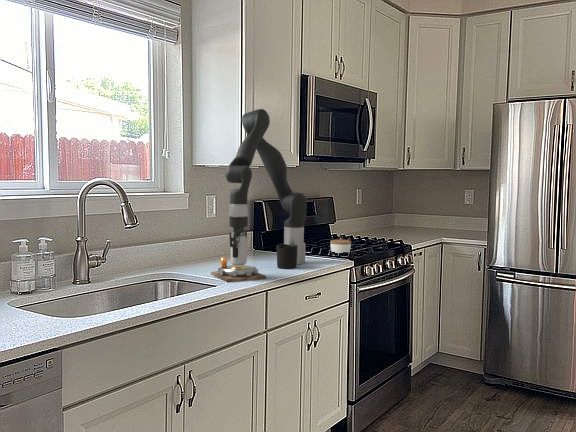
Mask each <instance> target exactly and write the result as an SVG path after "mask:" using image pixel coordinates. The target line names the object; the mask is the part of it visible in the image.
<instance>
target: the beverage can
mask: <svg viewBox="0 0 576 432" xmlns="http://www.w3.org/2000/svg"><path fill="white" fill-rule="evenodd" d="M245 236H246V235H242V236H238V238H236V239H237V240H239V237H240V242H239V243H238V257H237V258H234V257H233V248H232V247H230V263H231V264H232V265H237V266H240V265H246V264H247V243H246V237H245Z"/></svg>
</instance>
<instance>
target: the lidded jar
mask: <svg viewBox="0 0 576 432" xmlns="http://www.w3.org/2000/svg"><path fill="white" fill-rule="evenodd" d="M329 246H330V251H331V253H332V252H335V253H343V252H349V253H350V251H351V249H352V248H351V247H352V240H348V239H343V237H339V239H332V240H330V245H329Z"/></svg>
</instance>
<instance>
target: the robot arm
mask: <svg viewBox="0 0 576 432" xmlns="http://www.w3.org/2000/svg"><path fill="white" fill-rule="evenodd" d="M270 122H271V119H270V115H269V113H268V112H267V111H266V109H264V108H259V109H255V110H251V111H248V112H246V113H244V114H242V116H241V124H242V127H243V129H244V131H245V133H246V135H247V136H246V137H245V138H244V140H243V141H242V142H241V143H240V144H239V147H238V150H237V152H236V155H235V157H234V158H233V159H232V161H231V162H230V163H229V164H228V166H227V168H226V169H225V178H226V181H227V182H228V183H230V184H240V186H239V187H238V188H234V189H231V190H230V192H229V209H228V210H229V212H228V213H229V215H228V216H229V219H228V220H229V224H228V225H229V227H230V228H232V232H229V234H228V235H229V247H230V248H231V247H232V248H233V257H234V258H237V257H238V243H239V242H240V237H239V240H237V239H236V238H238V236H242V235H246V236H245V237H246V244H247V239H248V229H245V228H248V226H249V207H248V193H249V188H250V185H251V181H252V178H253V171H252V168H251V167H250V166H251V165H252V164H253V163H252V162H253V160H254V157H255V154H256V151H257V153H258V155H259V158H260V160H261V162H262V164H263V166H264V169H265V170H266V173H267V174H268V175H269V178H270V180H271V182H272V185H273V186H274V189H275V191H276V194H277V197H278V199H279V203H280V204H281V207H282V209H283V210H284V211H286V212H289V217H288V219H285V220H284V222H283V223H284V224H283V225H284V226H283V229H284V230H283V244H287V245H290V246H295V245H298V249H297V265H298V266H299V265H303V264H306V243H305V242H304V241H305V238H304V237H305V235H304V234H305V222H306V219H307V209H308V208H307V207H308V202H307V198H306V195H305V194H303V193H302V192H294V191H293V190H292V188H291V186H290V185H289V182H288V179H287V178H288V169H287V168H288V167H287V164H286V161H285V159H284V157H283V154H282V153H281V152H280V151H279V150H278V148H276V147H275V146H273V145H272V144H270V143H269V142H268V141H266V139H265V138H264V136H265V134H266V132H267V130H268V128H269V127H270Z"/></svg>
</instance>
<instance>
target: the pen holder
mask: <svg viewBox="0 0 576 432" xmlns="http://www.w3.org/2000/svg"><path fill="white" fill-rule="evenodd" d="M297 249H298V245H295V246H290V245H287V244H284V243H279V244H276V265H277V266H276V267H277V269H282V270H283V269H284V270H293V269H296V268H297Z"/></svg>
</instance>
